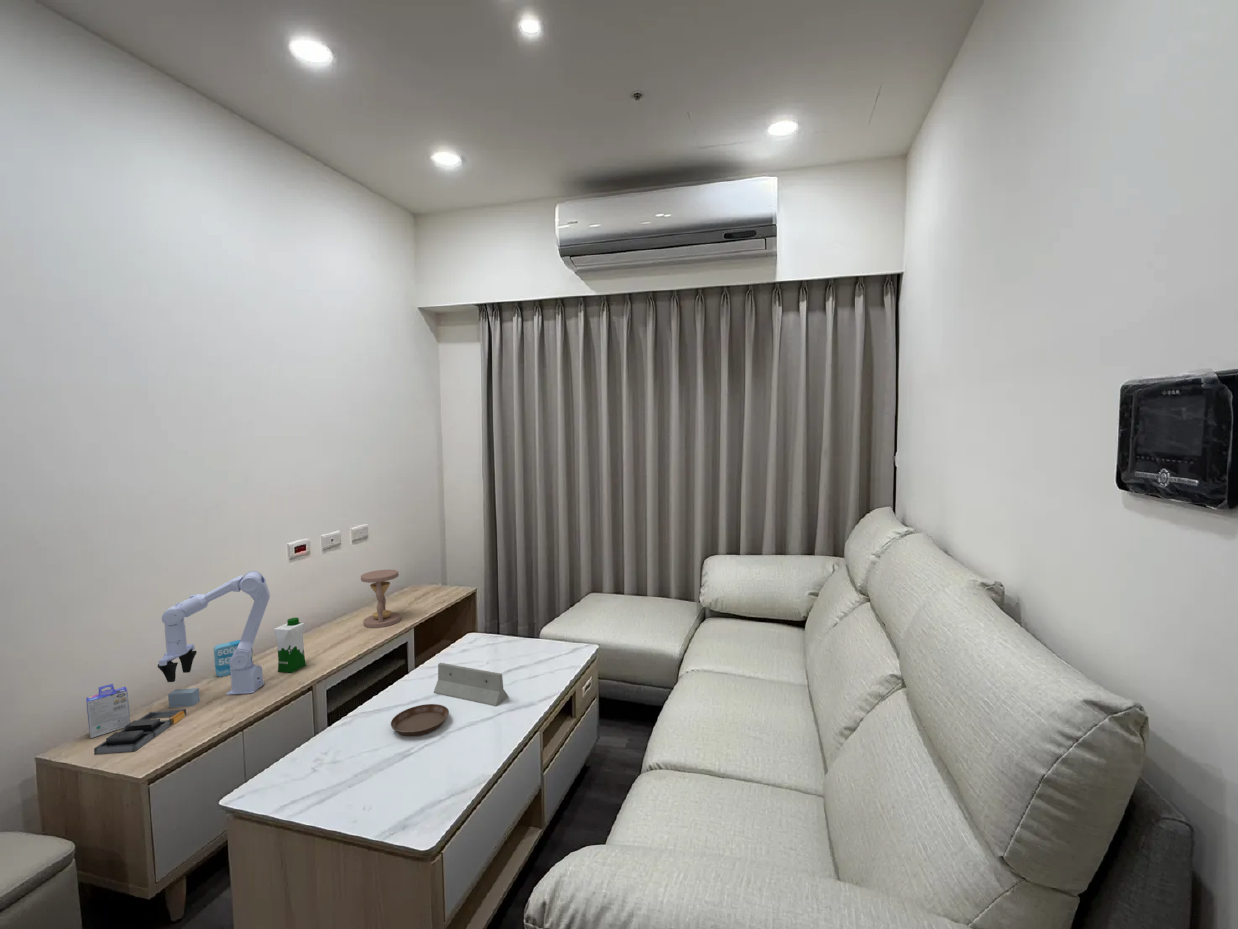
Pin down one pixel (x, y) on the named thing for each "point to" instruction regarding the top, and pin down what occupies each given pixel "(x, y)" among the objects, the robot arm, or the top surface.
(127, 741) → the grey tray
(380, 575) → the hourglass
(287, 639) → the milk carton
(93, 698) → the ink cartridge box
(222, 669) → the data package
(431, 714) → the plant saucer
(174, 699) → the grey-blue rectangular block
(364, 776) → the top surface
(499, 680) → the barrier
